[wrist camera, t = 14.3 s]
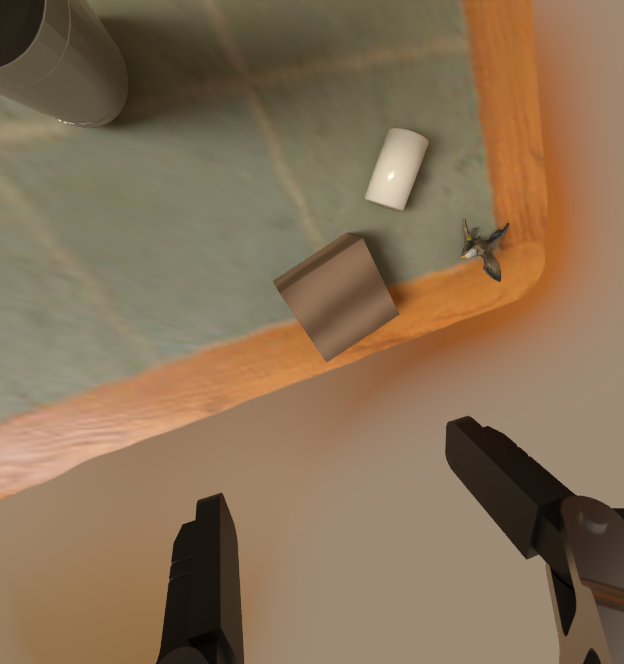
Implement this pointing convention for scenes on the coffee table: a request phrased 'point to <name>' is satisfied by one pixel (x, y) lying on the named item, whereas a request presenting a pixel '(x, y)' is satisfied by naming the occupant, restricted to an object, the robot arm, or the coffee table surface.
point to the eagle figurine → (484, 250)
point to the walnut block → (338, 295)
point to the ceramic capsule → (396, 169)
